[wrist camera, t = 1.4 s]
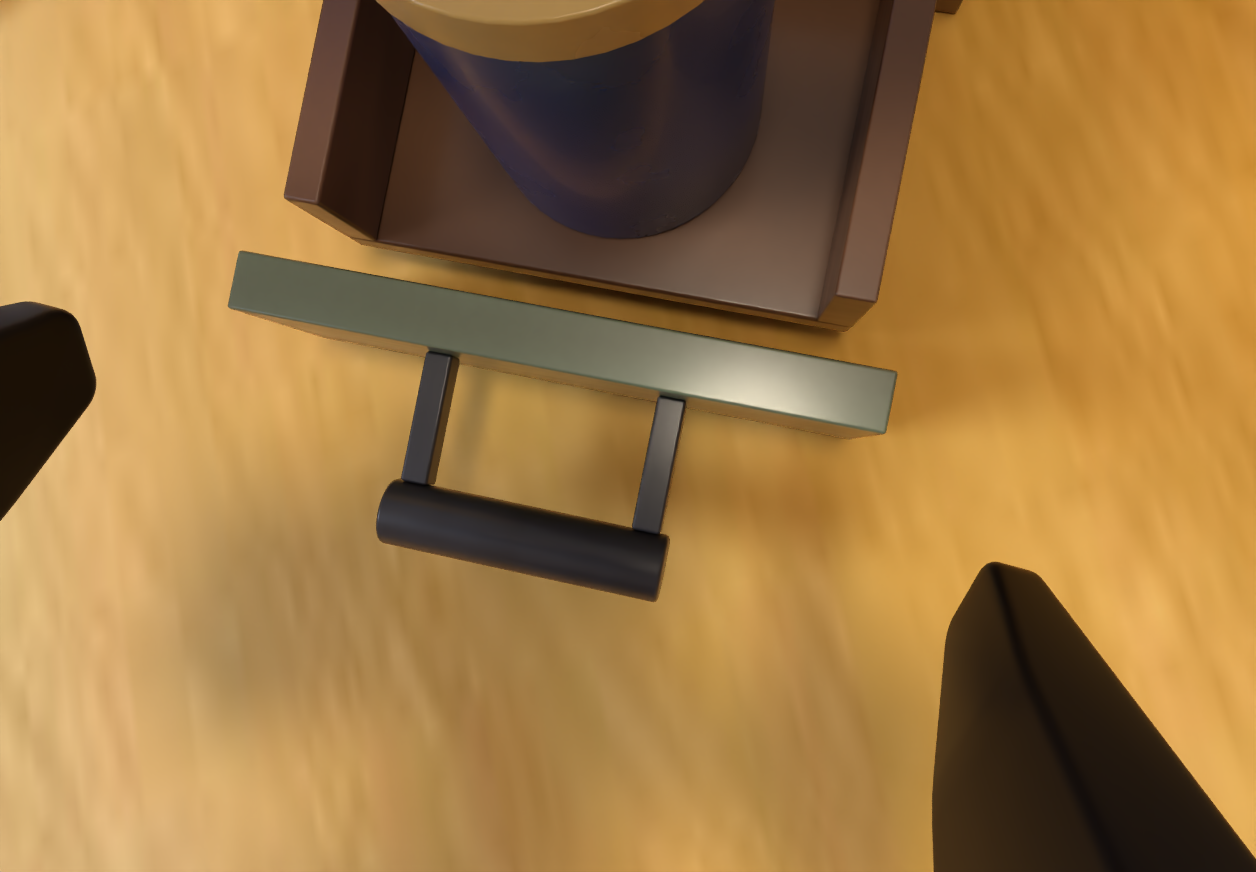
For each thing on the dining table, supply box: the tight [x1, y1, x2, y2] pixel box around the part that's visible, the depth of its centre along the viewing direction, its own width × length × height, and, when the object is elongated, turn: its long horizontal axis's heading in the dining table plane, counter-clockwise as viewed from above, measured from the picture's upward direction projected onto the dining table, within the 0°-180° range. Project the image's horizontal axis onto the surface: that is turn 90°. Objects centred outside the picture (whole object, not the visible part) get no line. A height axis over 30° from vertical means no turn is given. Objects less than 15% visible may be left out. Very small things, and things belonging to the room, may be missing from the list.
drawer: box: [228, 0, 937, 602], centre depth 19 cm, size 17×13×4 cm
